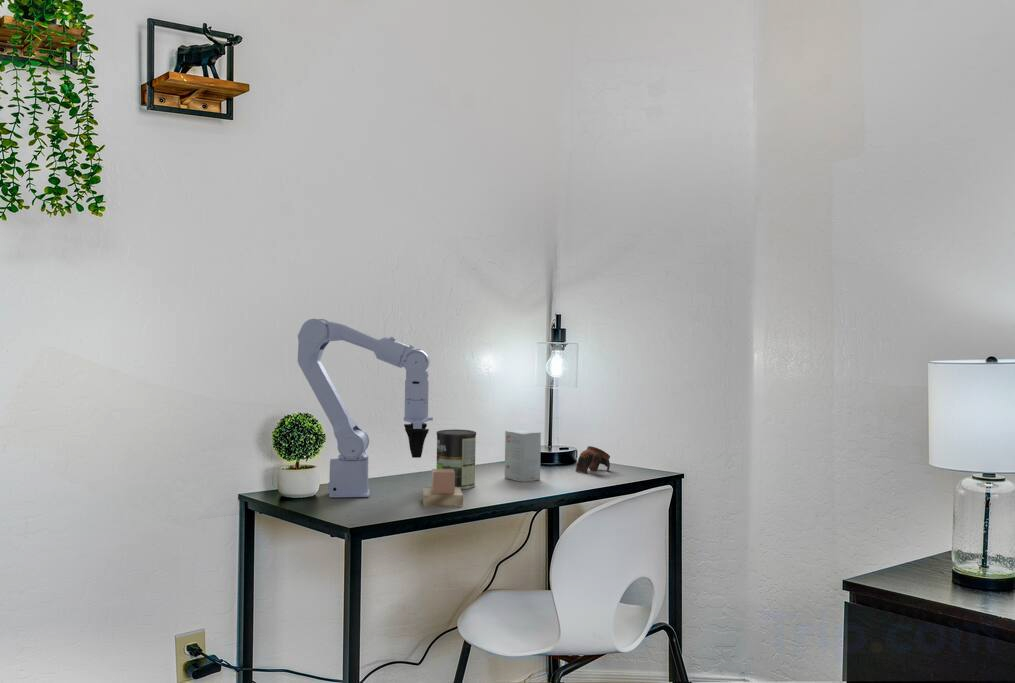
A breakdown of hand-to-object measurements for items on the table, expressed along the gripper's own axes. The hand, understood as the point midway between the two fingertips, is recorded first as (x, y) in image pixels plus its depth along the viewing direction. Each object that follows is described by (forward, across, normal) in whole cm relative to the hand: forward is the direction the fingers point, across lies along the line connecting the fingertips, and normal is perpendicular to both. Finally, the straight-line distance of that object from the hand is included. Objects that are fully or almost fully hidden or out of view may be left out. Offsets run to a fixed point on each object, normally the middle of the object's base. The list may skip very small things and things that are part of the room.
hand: (415, 455), depth 211 cm
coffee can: (+10, +12, -11) cm, 19 cm away
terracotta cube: (+7, -8, -6) cm, 13 cm away
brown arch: (+10, +31, -52) cm, 62 cm away
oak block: (+10, -8, -6) cm, 14 cm away
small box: (+10, +21, -30) cm, 38 cm away
